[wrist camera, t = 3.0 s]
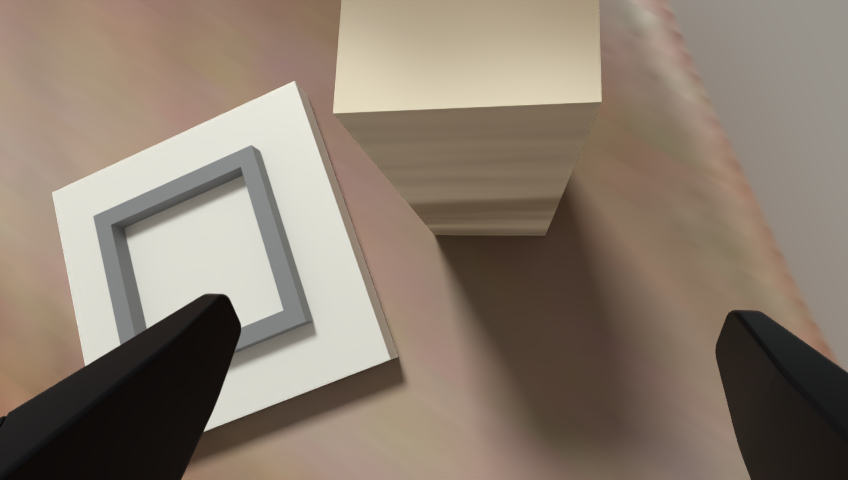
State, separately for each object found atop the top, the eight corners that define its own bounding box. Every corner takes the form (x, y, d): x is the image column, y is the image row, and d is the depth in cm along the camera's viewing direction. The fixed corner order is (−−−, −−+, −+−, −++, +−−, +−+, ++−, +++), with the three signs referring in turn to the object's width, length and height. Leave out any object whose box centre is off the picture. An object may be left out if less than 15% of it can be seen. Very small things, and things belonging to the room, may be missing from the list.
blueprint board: (398, 356, 21) (385, 360, 19) (131, 460, 22) (89, 475, 20) (307, 95, 24) (286, 72, 22) (77, 199, 26) (36, 188, 23)
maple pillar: (545, 235, 21) (601, 102, 8) (434, 235, 22) (333, 113, 9) (544, 129, 22) (595, -138, 9) (438, 133, 23) (349, -107, 10)
